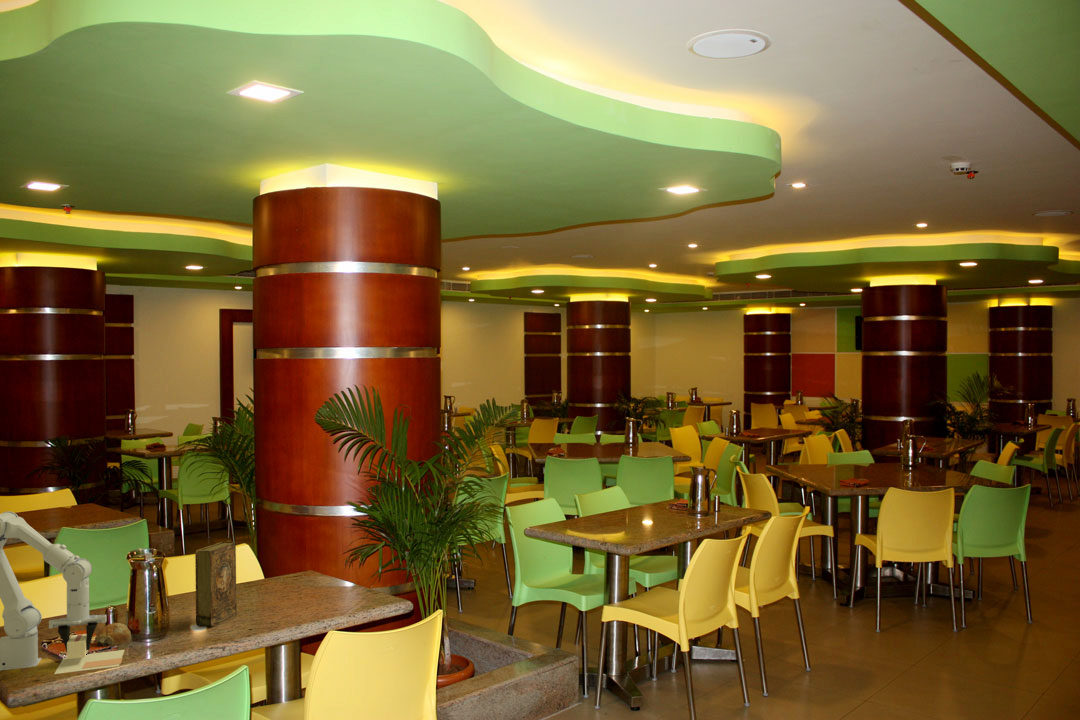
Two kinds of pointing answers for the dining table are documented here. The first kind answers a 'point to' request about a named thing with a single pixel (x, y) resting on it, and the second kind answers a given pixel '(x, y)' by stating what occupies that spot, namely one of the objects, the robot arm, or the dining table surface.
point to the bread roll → (113, 635)
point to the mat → (91, 662)
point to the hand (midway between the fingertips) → (78, 650)
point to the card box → (77, 646)
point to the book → (215, 583)
